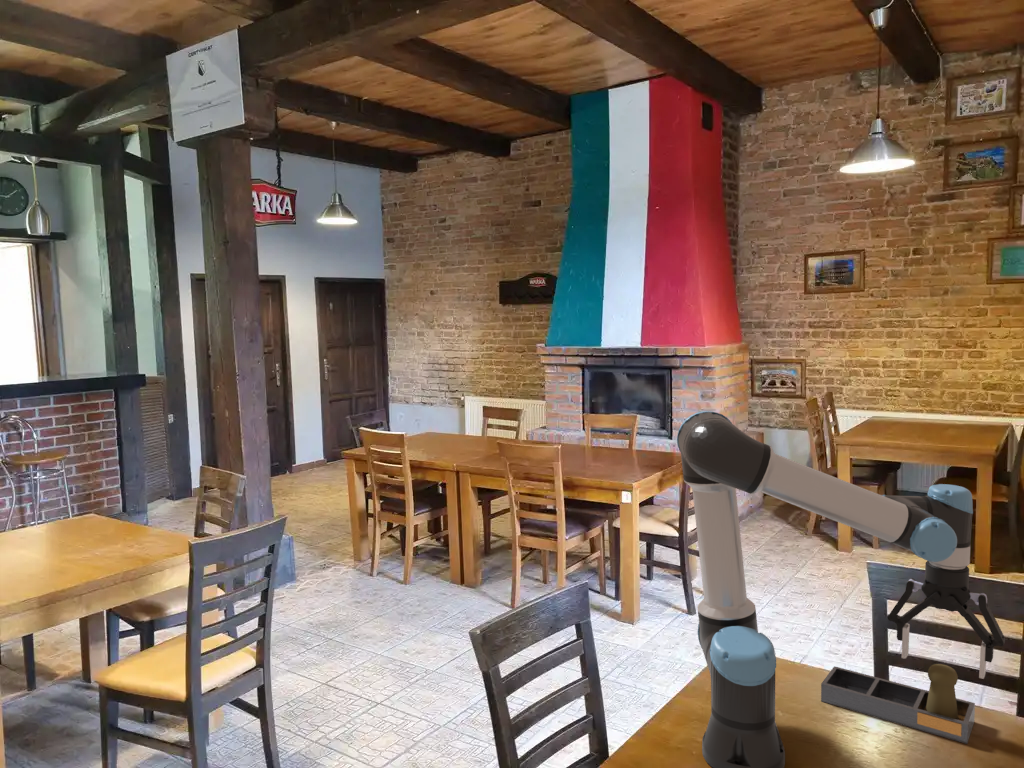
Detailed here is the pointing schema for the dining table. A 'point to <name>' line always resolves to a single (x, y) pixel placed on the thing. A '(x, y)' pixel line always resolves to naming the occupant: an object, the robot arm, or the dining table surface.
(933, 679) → the olive pawn-shaped piece
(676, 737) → the dining table surface
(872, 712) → the rack
